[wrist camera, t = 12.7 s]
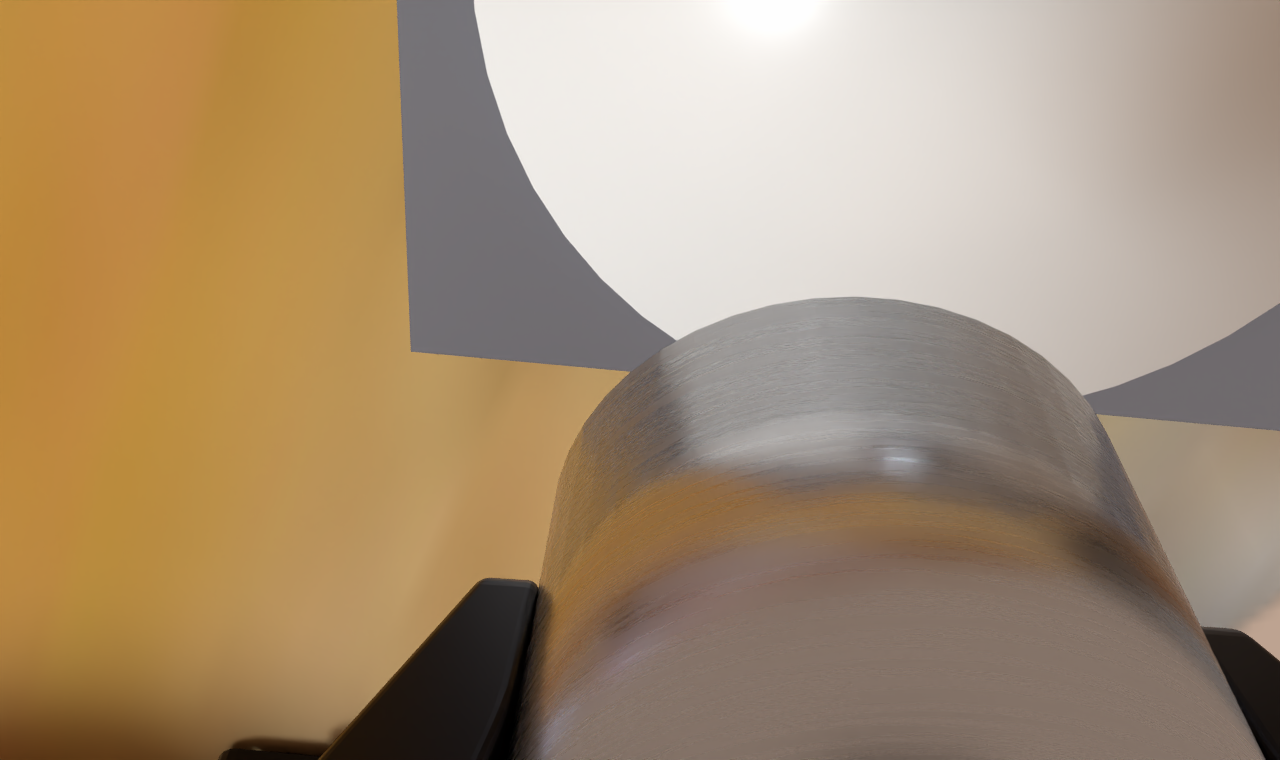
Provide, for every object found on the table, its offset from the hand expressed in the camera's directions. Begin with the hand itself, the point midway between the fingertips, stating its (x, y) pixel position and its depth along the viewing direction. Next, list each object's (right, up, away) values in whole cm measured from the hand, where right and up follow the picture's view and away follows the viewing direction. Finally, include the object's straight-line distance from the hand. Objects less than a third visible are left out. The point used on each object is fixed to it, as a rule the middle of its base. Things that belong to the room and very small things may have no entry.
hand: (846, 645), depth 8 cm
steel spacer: (0, +1, +1) cm, 1 cm away
